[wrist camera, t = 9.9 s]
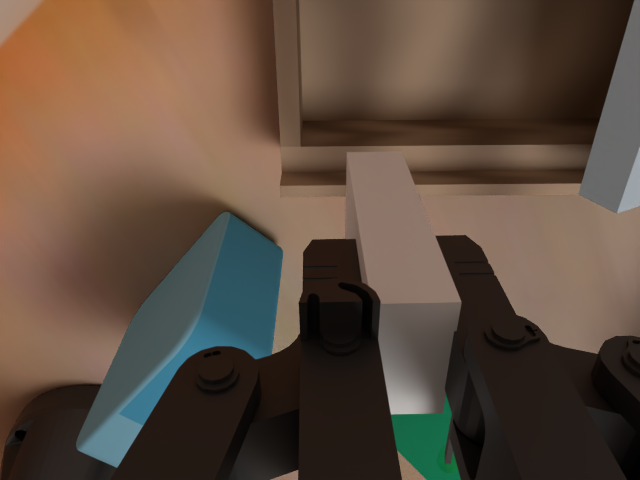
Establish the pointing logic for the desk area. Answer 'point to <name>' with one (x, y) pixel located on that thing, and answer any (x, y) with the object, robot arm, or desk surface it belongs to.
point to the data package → (187, 328)
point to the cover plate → (618, 131)
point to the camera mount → (426, 442)
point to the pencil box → (444, 90)
